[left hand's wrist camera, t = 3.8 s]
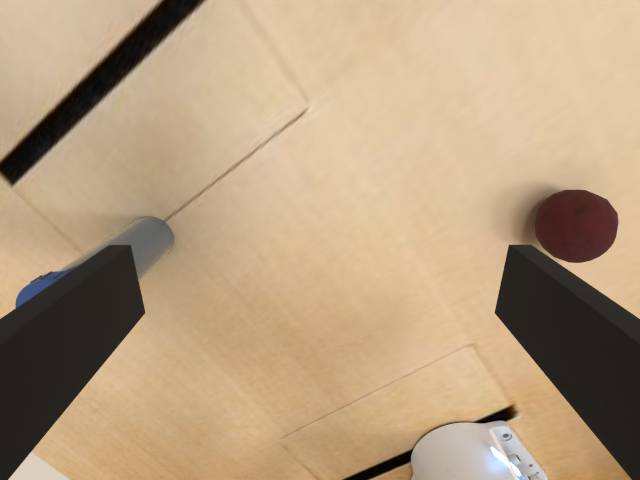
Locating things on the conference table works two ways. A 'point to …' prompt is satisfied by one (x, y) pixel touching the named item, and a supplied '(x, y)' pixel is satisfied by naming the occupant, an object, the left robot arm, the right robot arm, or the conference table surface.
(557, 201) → the dark maroon ball
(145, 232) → the jar
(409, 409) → the conference table surface
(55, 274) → the lid
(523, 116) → the conference table surface
